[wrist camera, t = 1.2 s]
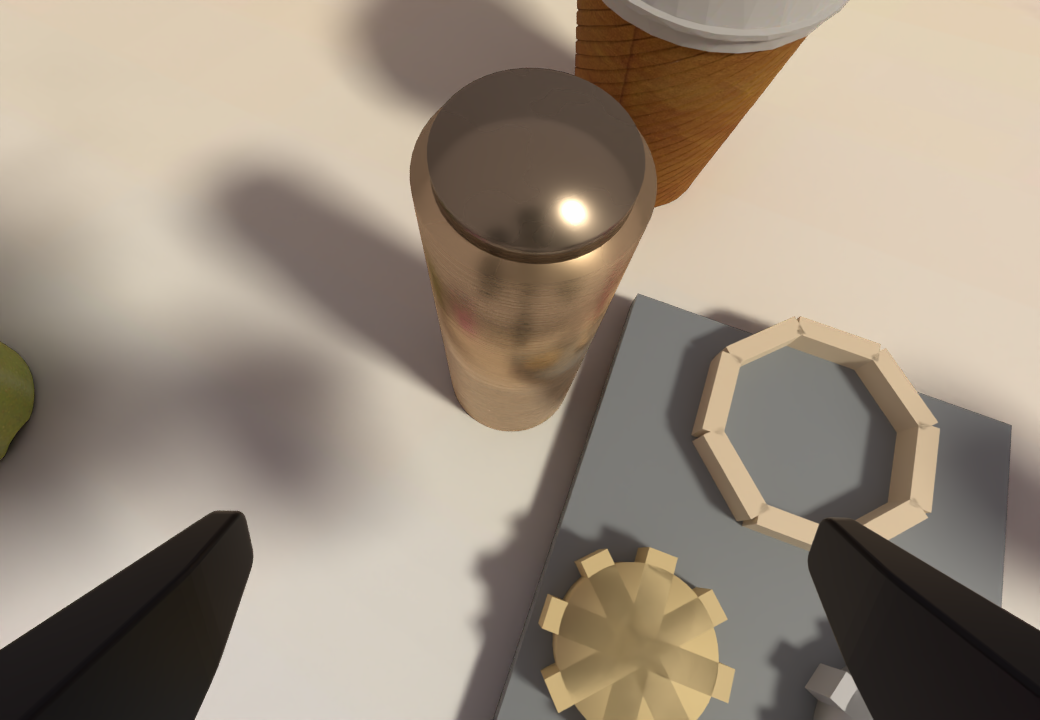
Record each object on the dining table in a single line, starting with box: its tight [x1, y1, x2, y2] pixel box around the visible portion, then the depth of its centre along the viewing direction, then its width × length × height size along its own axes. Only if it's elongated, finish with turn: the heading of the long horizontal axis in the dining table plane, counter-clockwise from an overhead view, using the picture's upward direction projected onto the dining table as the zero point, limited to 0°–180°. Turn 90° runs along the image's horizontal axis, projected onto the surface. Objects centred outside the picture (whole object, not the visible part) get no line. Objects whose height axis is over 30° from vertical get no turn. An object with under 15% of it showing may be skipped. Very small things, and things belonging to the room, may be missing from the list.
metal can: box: [410, 68, 657, 431], centre depth 17 cm, size 5×5×14 cm
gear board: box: [493, 294, 1012, 720], centre depth 19 cm, size 23×16×3 cm
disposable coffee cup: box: [575, 0, 849, 207], centre depth 22 cm, size 10×10×12 cm
